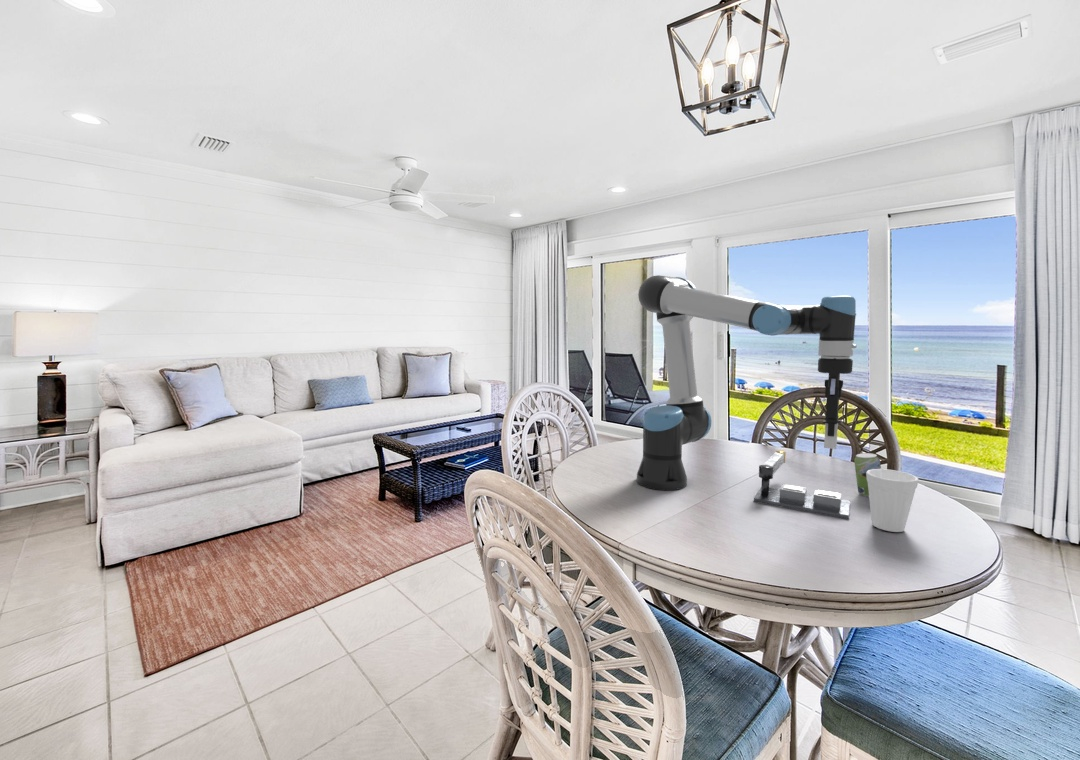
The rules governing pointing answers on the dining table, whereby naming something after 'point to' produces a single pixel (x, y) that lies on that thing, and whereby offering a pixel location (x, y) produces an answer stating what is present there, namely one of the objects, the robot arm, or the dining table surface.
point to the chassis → (803, 500)
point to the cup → (890, 498)
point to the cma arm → (772, 465)
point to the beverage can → (865, 470)
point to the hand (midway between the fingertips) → (830, 447)
